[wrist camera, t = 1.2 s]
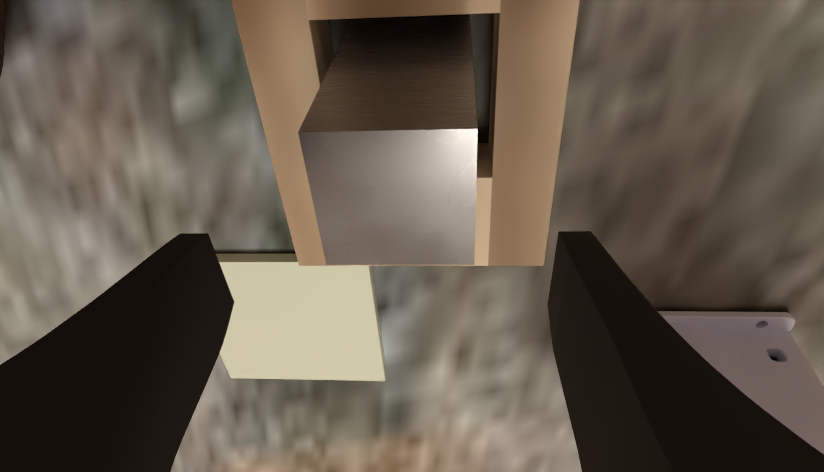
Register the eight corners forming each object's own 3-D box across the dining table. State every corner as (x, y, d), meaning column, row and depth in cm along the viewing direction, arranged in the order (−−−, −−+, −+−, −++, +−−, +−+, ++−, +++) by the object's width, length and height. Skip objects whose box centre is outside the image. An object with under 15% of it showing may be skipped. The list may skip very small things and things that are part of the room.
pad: (369, 253, 25) (368, 262, 24) (386, 372, 30) (385, 380, 30) (184, 253, 25) (179, 262, 25) (234, 369, 31) (230, 378, 31)
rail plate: (583, -181, 14) (603, -179, 12) (536, 227, 23) (543, 265, 21) (225, -157, 15) (191, -151, 13) (311, 228, 24) (298, 265, 22)
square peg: (469, 15, 18) (478, 128, 12) (468, 124, 20) (474, 265, 14) (351, 19, 18) (298, 132, 12) (364, 126, 21) (326, 264, 14)
